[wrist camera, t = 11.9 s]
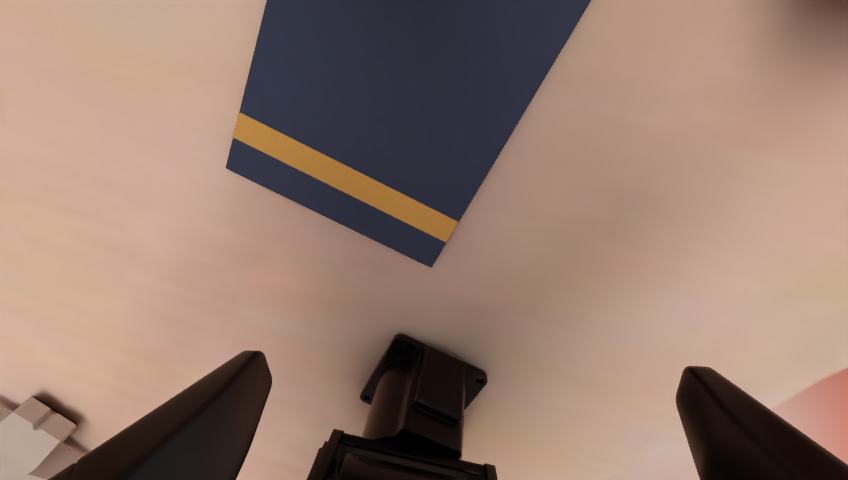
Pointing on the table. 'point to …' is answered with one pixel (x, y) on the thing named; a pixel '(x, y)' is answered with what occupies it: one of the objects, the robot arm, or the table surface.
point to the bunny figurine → (33, 442)
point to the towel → (392, 106)
